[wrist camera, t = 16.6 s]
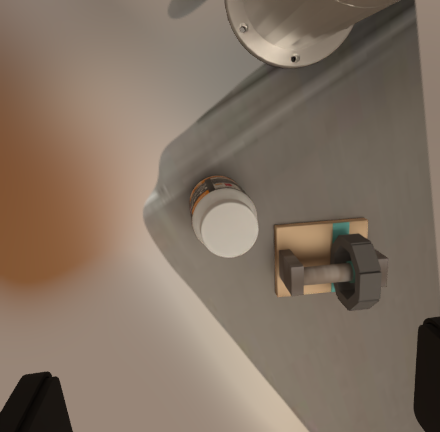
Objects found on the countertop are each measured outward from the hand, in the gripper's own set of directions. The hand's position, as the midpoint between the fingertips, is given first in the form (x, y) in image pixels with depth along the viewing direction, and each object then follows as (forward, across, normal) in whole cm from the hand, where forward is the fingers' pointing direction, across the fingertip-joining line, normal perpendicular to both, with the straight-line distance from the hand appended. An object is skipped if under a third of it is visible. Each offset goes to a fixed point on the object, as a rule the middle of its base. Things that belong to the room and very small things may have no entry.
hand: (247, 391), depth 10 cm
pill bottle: (+31, -2, +3) cm, 31 cm away
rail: (+30, -12, +10) cm, 34 cm away
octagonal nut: (+29, -14, +10) cm, 34 cm away
